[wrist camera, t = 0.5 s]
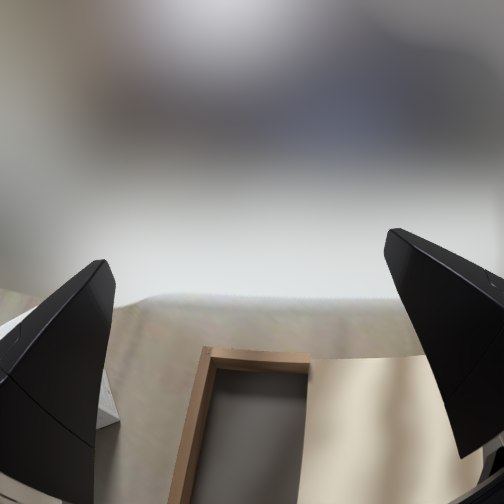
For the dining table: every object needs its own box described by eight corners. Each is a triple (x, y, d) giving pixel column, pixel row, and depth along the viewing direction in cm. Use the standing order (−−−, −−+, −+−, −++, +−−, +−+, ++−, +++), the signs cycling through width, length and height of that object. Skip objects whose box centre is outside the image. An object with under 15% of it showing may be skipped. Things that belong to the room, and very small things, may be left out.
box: (515, 350, 19) (531, 334, 17) (532, 477, 9) (553, 470, 7) (211, 362, 24) (202, 346, 21) (178, 518, 14) (163, 521, 12)
